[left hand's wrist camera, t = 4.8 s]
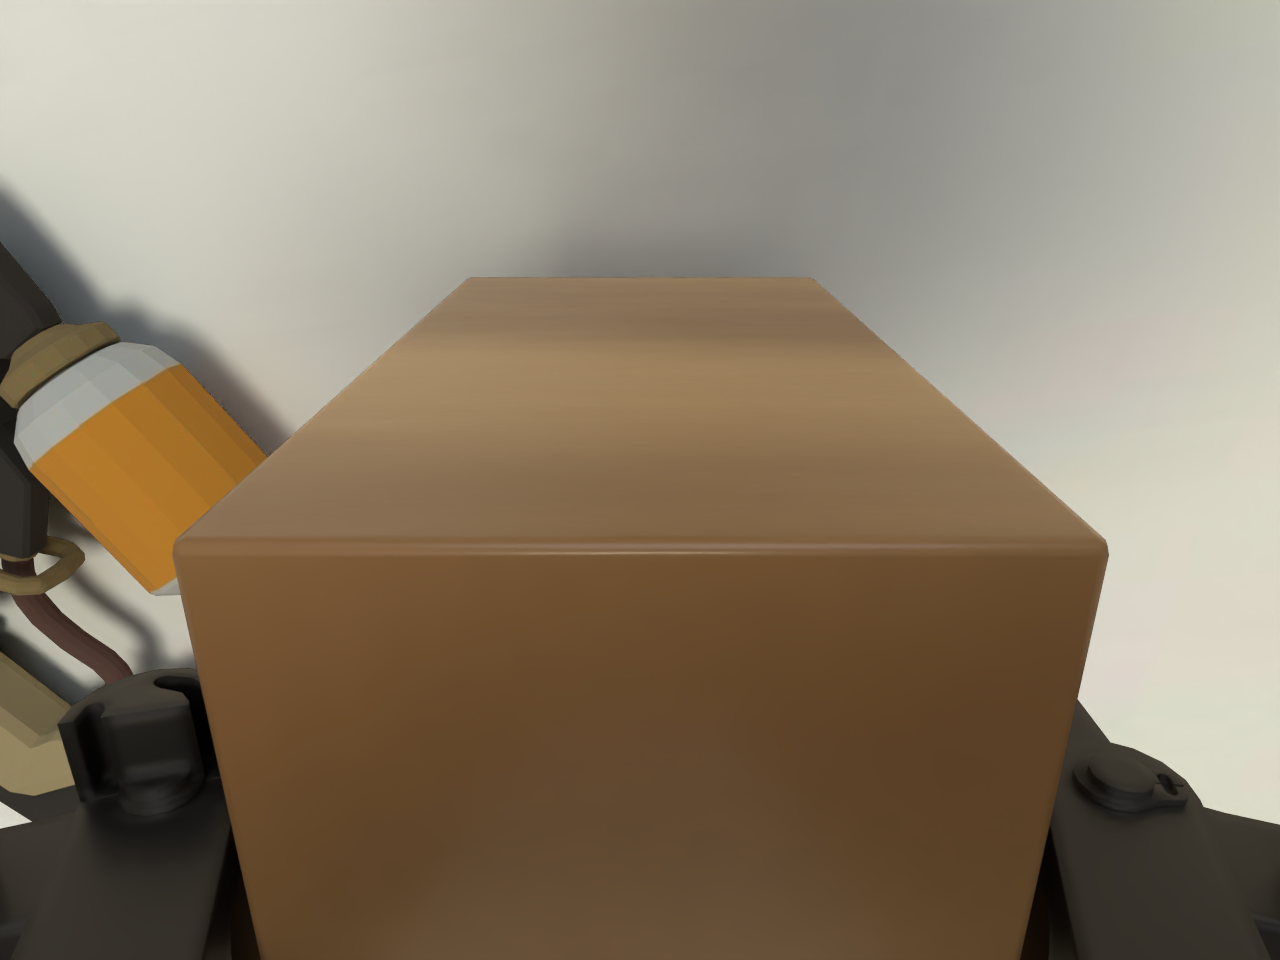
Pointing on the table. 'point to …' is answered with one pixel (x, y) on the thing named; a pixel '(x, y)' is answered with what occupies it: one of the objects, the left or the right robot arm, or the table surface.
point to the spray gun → (90, 498)
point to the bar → (640, 642)
